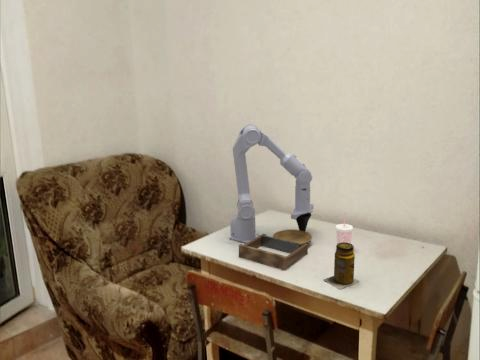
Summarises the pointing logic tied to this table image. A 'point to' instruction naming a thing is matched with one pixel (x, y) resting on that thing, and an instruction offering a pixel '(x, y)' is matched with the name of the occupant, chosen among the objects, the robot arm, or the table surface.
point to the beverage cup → (344, 232)
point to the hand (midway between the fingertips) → (302, 231)
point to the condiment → (343, 266)
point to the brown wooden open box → (270, 254)
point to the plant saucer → (294, 236)
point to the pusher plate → (279, 244)
